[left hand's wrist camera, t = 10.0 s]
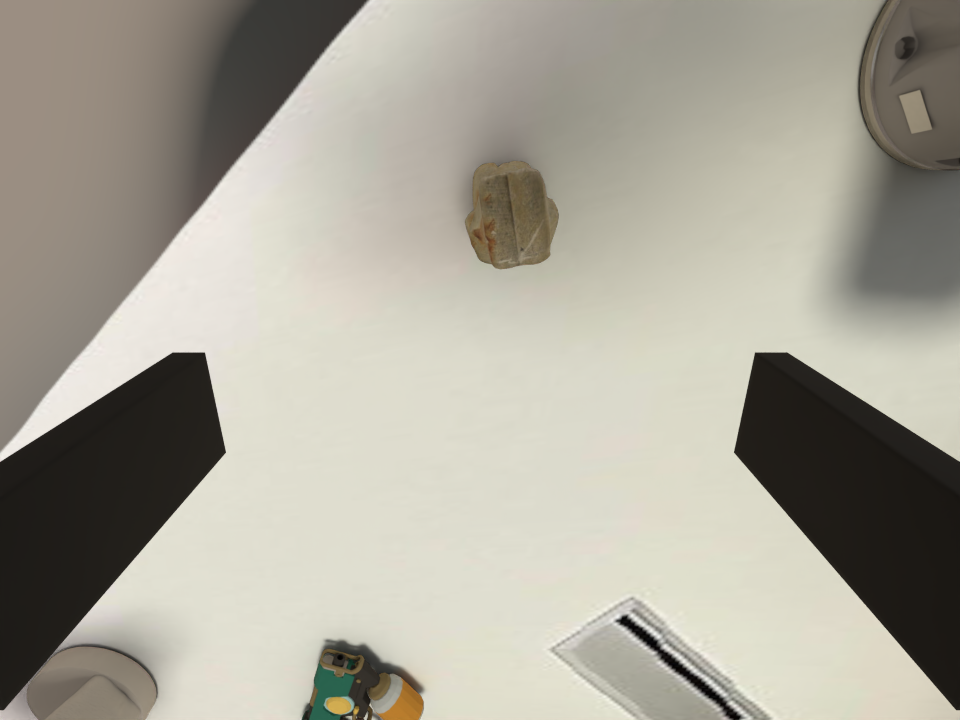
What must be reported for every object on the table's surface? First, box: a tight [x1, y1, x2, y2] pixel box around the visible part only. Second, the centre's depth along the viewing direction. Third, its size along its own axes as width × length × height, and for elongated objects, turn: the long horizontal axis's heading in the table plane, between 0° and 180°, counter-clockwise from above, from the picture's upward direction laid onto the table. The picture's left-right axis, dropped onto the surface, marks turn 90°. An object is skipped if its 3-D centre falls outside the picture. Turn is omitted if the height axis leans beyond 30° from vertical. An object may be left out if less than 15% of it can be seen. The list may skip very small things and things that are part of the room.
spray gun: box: [302, 649, 424, 720], centre depth 59 cm, size 4×17×15 cm
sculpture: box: [465, 161, 559, 269], centre depth 33 cm, size 6×7×15 cm
